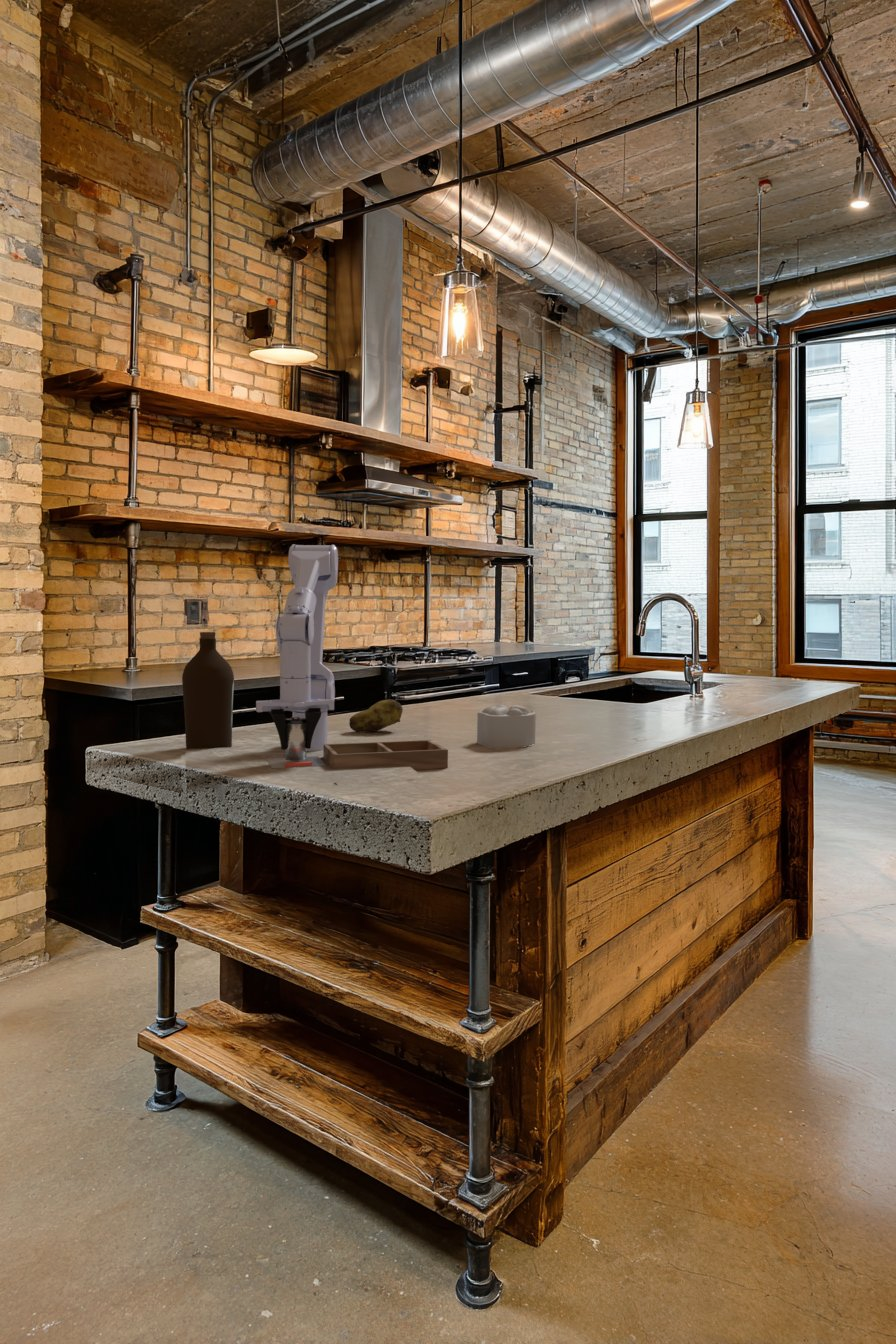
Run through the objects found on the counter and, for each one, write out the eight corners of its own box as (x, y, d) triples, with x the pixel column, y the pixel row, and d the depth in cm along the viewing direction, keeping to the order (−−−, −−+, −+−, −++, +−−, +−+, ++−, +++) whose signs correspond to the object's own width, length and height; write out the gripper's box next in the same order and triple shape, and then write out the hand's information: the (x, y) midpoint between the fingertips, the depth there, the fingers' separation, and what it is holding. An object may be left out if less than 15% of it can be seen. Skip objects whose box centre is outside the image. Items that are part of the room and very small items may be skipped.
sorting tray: (323, 761, 165) (323, 744, 165) (429, 756, 172) (429, 740, 172) (334, 773, 154) (334, 754, 154) (447, 767, 161) (447, 749, 160)
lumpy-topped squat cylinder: (472, 742, 192) (473, 704, 191) (523, 739, 197) (524, 702, 196) (491, 749, 182) (492, 710, 181) (544, 746, 187) (545, 708, 186)
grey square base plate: (266, 763, 163) (266, 755, 163) (317, 761, 166) (317, 753, 166) (271, 773, 153) (271, 765, 153) (326, 770, 156) (326, 762, 156)
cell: (283, 757, 161) (283, 716, 160) (304, 756, 162) (304, 715, 161) (286, 761, 157) (286, 719, 156) (307, 760, 158) (307, 718, 158)
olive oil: (195, 754, 171) (193, 633, 169) (175, 747, 179) (173, 631, 177) (243, 749, 178) (242, 632, 176) (222, 743, 186) (220, 631, 184)
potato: (351, 729, 209) (351, 697, 209) (403, 729, 209) (403, 697, 209) (348, 734, 201) (348, 701, 200) (401, 734, 201) (401, 701, 200)
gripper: (258, 680, 152) (258, 753, 153) (337, 678, 157) (337, 750, 158) (254, 676, 159) (255, 747, 160) (330, 675, 163) (330, 743, 164)
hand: (295, 748), depth 159 cm, fingers closed on cell, 4 cm apart
